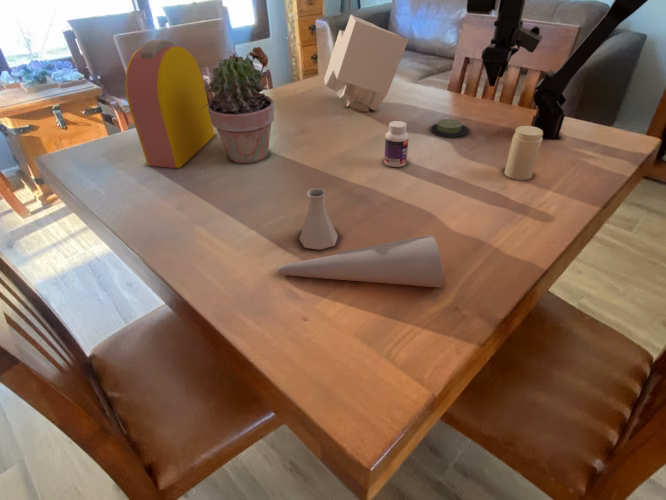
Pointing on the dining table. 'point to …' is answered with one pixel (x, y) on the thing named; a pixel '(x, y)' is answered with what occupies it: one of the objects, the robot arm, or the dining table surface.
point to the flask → (317, 223)
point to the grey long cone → (378, 264)
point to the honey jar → (523, 152)
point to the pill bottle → (396, 144)
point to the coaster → (455, 135)
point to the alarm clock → (167, 103)
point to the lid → (449, 126)
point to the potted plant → (241, 107)
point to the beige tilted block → (364, 62)
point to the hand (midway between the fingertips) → (496, 81)
